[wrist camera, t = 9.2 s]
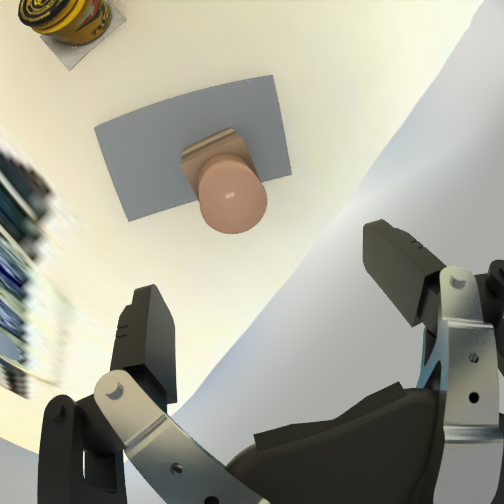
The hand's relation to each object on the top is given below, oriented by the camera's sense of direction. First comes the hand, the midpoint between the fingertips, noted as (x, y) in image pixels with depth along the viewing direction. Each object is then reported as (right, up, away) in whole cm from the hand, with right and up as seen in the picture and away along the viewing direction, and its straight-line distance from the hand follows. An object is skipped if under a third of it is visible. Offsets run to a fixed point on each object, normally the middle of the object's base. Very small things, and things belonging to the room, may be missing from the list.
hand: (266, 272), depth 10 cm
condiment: (-20, +26, +9) cm, 34 cm away
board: (-7, +13, +20) cm, 24 cm away
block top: (-4, +9, +17) cm, 19 cm away
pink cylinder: (-3, +7, +13) cm, 15 cm away
